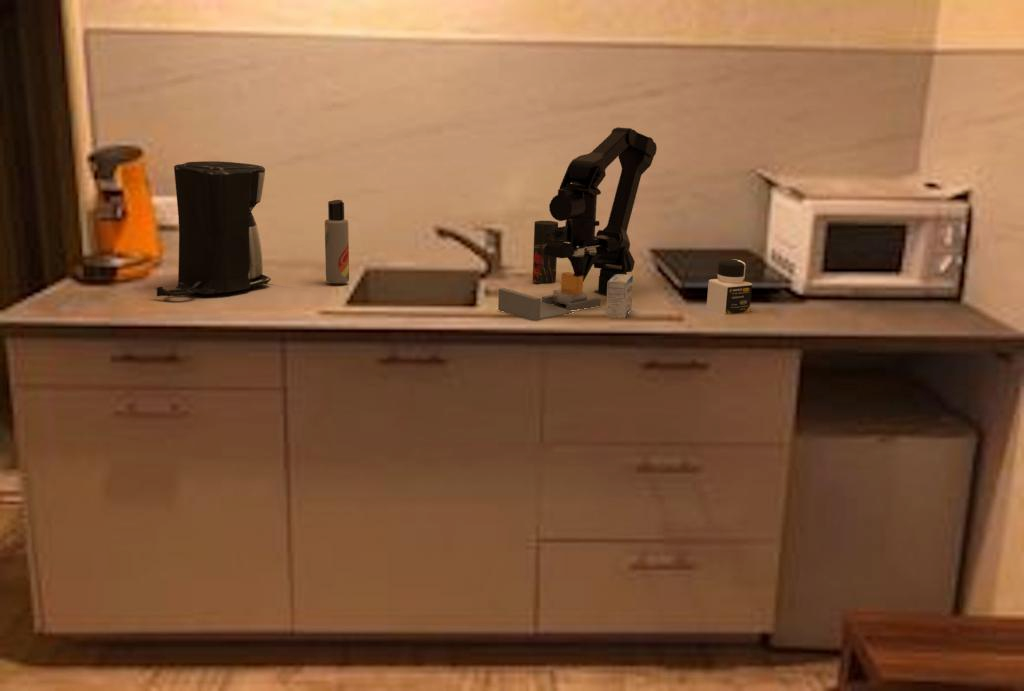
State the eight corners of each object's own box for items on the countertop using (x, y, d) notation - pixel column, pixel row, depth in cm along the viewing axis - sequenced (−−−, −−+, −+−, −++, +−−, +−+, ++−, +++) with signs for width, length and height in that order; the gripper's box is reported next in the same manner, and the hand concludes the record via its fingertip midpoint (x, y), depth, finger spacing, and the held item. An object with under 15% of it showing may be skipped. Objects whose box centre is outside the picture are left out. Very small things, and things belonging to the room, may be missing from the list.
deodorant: (558, 283, 257) (561, 224, 253) (535, 283, 255) (537, 224, 251) (552, 278, 262) (554, 220, 258) (529, 278, 261) (531, 220, 257)
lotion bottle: (354, 280, 253) (352, 200, 247) (338, 284, 248) (336, 203, 243) (336, 277, 256) (335, 198, 250) (321, 281, 251) (319, 200, 246)
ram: (568, 297, 237) (569, 271, 235) (586, 303, 233) (587, 275, 231) (552, 300, 234) (553, 273, 232) (570, 306, 230) (572, 278, 228)
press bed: (568, 298, 242) (569, 276, 240) (605, 308, 233) (606, 286, 232) (498, 311, 228) (498, 288, 226) (534, 322, 219) (535, 299, 217)
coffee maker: (281, 278, 254) (276, 160, 246) (230, 304, 227) (224, 172, 219) (207, 272, 257) (201, 156, 249) (150, 297, 231) (140, 168, 223)
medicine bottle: (725, 316, 229) (730, 264, 226) (705, 309, 235) (709, 258, 232) (750, 313, 232) (755, 262, 229) (729, 306, 238) (734, 256, 235)
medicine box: (625, 320, 223) (627, 282, 221) (605, 318, 224) (607, 280, 222) (631, 312, 231) (633, 274, 228) (611, 310, 232) (613, 273, 229)
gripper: (586, 208, 242) (583, 272, 246) (528, 214, 230) (526, 281, 234) (621, 214, 234) (617, 280, 238) (563, 221, 222) (560, 291, 226)
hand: (579, 283), depth 234 cm, fingers closed
